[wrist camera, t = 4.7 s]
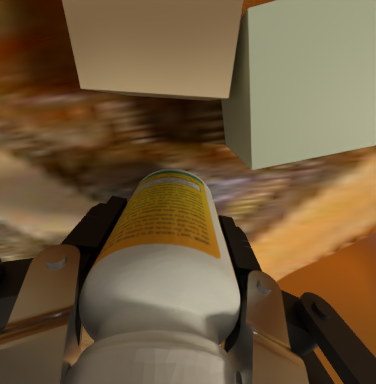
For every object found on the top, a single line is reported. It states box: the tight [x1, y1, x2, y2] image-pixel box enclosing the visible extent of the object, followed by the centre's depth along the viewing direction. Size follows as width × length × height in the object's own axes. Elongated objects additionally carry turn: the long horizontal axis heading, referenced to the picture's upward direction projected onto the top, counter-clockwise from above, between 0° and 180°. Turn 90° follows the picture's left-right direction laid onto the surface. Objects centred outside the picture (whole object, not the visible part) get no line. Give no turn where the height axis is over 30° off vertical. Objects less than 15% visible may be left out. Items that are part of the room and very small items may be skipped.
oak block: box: [62, 0, 243, 101], centre depth 7 cm, size 5×5×5 cm
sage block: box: [221, 0, 376, 170], centre depth 8 cm, size 5×5×5 cm
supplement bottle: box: [64, 168, 240, 384], centre depth 7 cm, size 5×5×10 cm
